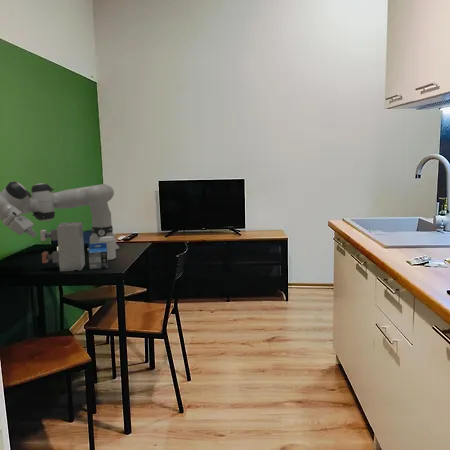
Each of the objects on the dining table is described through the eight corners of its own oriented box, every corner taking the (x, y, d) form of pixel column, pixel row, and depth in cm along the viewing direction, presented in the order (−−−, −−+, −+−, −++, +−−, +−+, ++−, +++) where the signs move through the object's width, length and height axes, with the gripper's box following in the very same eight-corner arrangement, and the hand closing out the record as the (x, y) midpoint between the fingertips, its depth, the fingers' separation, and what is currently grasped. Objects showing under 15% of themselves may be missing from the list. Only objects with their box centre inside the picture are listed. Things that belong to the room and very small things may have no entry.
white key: (42, 239, 231) (42, 229, 230) (54, 238, 232) (53, 229, 231) (40, 241, 226) (40, 231, 226) (52, 240, 227) (52, 230, 226)
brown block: (44, 261, 232) (43, 251, 232) (56, 260, 233) (55, 251, 233) (42, 263, 228) (41, 253, 227) (54, 262, 229) (53, 253, 228)
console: (56, 265, 238) (53, 223, 235) (85, 264, 240) (82, 221, 237) (51, 272, 224) (48, 226, 221) (81, 270, 227) (78, 225, 224)
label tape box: (89, 269, 228) (87, 245, 226) (89, 267, 232) (88, 243, 230) (107, 268, 230) (106, 243, 228) (108, 266, 234) (106, 242, 232)
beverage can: (100, 261, 247) (98, 238, 246) (101, 258, 255) (99, 236, 254) (115, 260, 249) (114, 238, 247) (116, 257, 257) (115, 235, 255)
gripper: (13, 219, 235) (35, 237, 238) (1, 224, 215) (25, 244, 218) (22, 210, 235) (44, 228, 238) (11, 214, 215) (35, 234, 218)
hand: (35, 236), depth 228 cm, fingers closed
